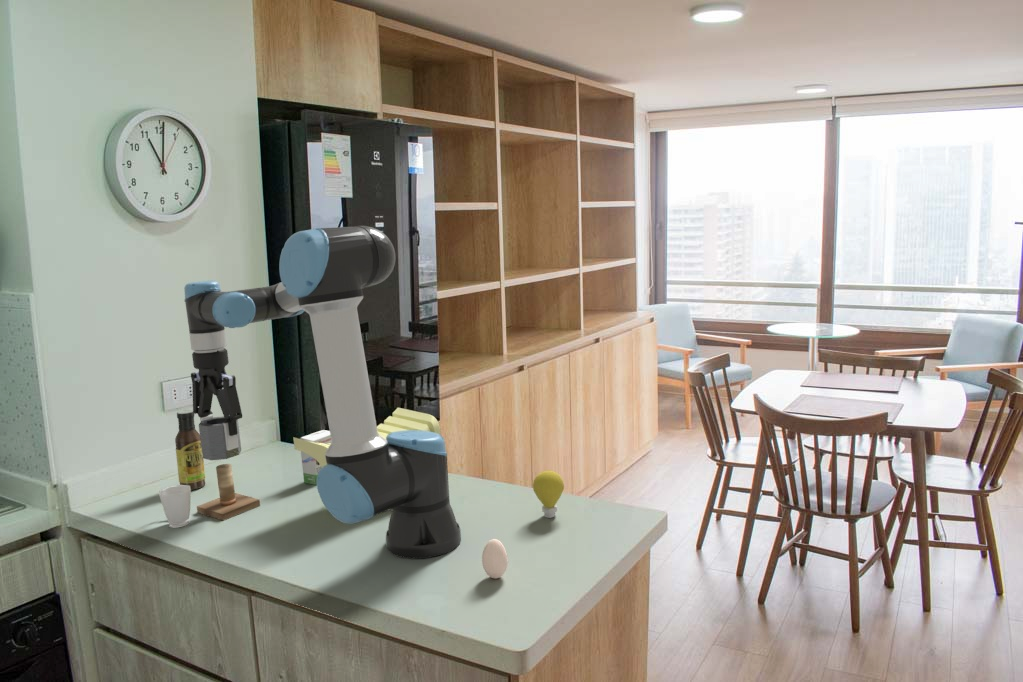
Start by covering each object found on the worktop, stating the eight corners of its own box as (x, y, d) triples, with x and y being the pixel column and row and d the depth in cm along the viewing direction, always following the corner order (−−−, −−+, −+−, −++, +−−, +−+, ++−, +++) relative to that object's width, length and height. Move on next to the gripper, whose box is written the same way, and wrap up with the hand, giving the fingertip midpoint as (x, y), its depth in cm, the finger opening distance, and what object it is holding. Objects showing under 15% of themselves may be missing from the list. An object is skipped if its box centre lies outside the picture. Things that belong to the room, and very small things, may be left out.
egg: (478, 580, 145) (475, 542, 144) (492, 569, 149) (489, 532, 148) (499, 585, 143) (497, 546, 141) (513, 574, 147) (511, 536, 145)
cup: (170, 532, 175) (166, 497, 174) (151, 522, 182) (146, 488, 181) (201, 522, 180) (197, 488, 179) (181, 512, 187) (177, 479, 186)
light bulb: (571, 514, 173) (569, 470, 171) (551, 524, 168) (549, 478, 167) (548, 507, 178) (546, 464, 176) (528, 517, 173) (525, 472, 171)
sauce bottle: (190, 493, 200) (180, 416, 197) (175, 489, 203) (164, 413, 200) (212, 484, 205) (202, 409, 202) (196, 481, 209) (186, 407, 205)
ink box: (316, 485, 200) (312, 440, 198) (303, 482, 203) (298, 438, 201) (341, 475, 207) (337, 431, 205) (327, 472, 210) (323, 429, 208)
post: (260, 505, 189) (255, 463, 187) (223, 520, 181) (217, 476, 179) (234, 498, 194) (229, 457, 193) (197, 512, 186) (191, 469, 185)
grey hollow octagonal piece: (247, 451, 186) (243, 418, 185) (217, 461, 180) (213, 427, 178) (226, 447, 191) (222, 414, 189) (196, 456, 184) (192, 423, 183)
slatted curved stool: (341, 528, 173) (333, 449, 169) (301, 511, 183) (293, 437, 180) (445, 487, 194) (439, 416, 191) (403, 474, 205) (397, 407, 202)
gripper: (252, 349, 178) (263, 447, 182) (197, 343, 190) (208, 436, 194) (222, 355, 172) (234, 457, 176) (168, 349, 184) (180, 444, 188)
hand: (221, 446), depth 185 cm, fingers closed on grey hollow octagonal piece, 8 cm apart
